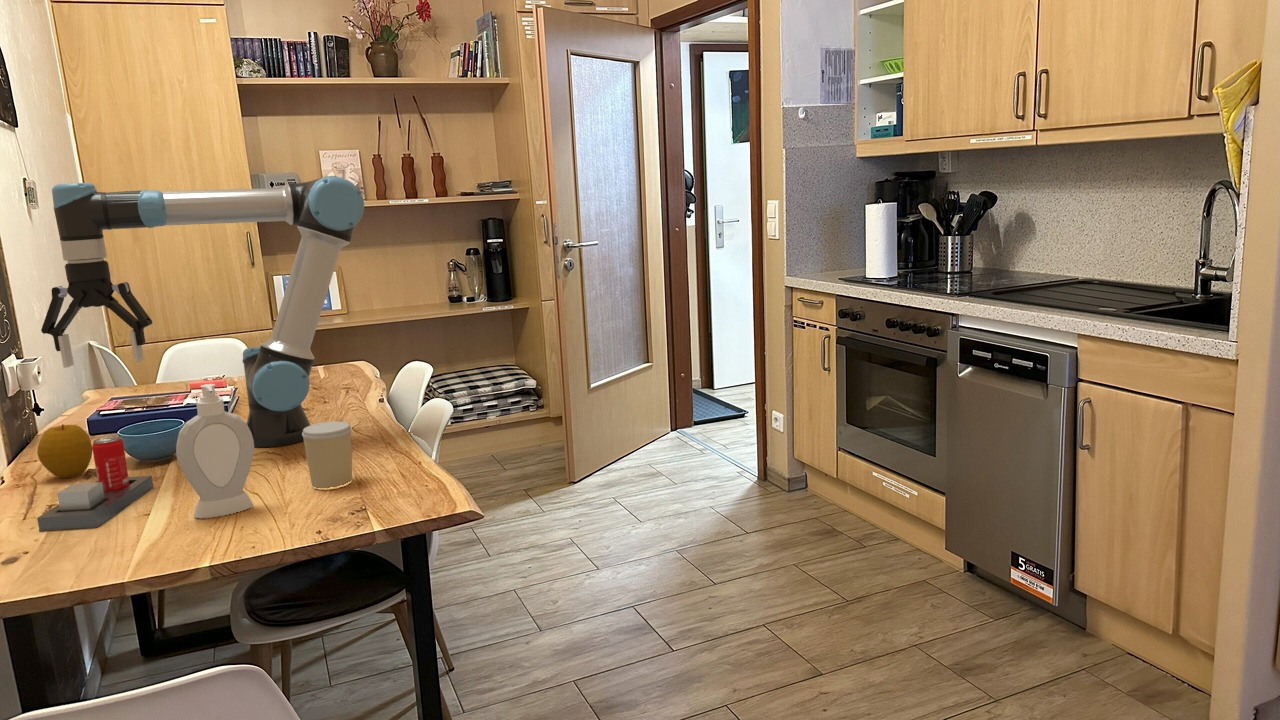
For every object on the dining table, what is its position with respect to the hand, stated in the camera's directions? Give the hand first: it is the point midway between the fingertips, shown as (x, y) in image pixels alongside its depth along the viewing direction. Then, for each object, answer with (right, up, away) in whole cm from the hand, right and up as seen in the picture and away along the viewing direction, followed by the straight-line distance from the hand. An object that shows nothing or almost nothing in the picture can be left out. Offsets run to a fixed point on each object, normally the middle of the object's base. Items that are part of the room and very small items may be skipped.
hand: (104, 363), depth 180 cm
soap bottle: (+34, -28, -19) cm, 48 cm away
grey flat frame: (+7, -28, -13) cm, 31 cm away
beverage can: (+7, -27, -8) cm, 29 cm away
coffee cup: (+49, -25, -4) cm, 55 cm away
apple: (-12, -25, +7) cm, 28 cm away
